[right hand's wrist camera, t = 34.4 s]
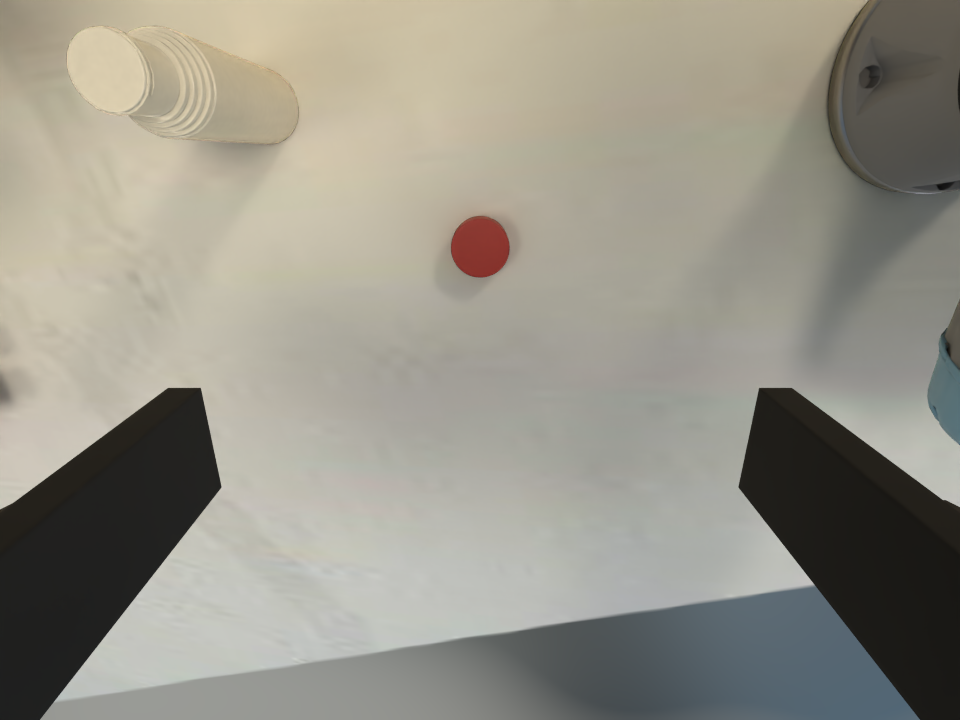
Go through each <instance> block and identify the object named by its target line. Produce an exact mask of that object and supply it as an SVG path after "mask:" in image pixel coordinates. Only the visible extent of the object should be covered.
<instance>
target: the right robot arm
mask: <svg viewBox="0 0 960 720" xmlns="http://www.w3.org/2000/svg"><path fill="white" fill-rule="evenodd" d="M828 109H829V121H830V127H831V131H832V135H833V138H834V141H835V144H836V146H837V148H838V150H839V152H840V154H841V156H842V157H843V159H844V160H845V162H846V163H847V164H848V166H849V167H850V168H851V169H852V170H853V171H854V172H855V173H856V174H857V175H859V176H860V177H861V178H863V179H864V180H866V181H867V182H869V183H871V184H873V185H875V186H877V187H880V188H883V189H886V190H890V191H895V192H905V193H916V194H933V193H942V192H948V191H954V190H959V189H960V0H869V2H868V3H867V4H866V5H865V7H864V8H863V9H862V11H861V12H860V14H859V15H858V17H857V18H856V19H855V21H854V23H853V24H852V26H851V28H850V30H849V31H848V33H847V35H846V37H845V39H844V41H843V43H842V46H841V48H840V51H839V53H838V56H837V58H836V62H835V65H834V68H833V72H832V77H831V82H830V89H829V103H828ZM939 352H940V353H939V357H938V360H937V363H936V366H935V369H934V371H933V374H932V377H931V380H930V383H929V387H928V394H927V398H928V404H929V407H930V409H931V411H932V413H933V415H934V417H935V418H936V419H937V420H938V421H939V424H940V426H941V427H942V428H943V430H944V431H945V432H946V433H947V434H948V435H949V436H950V437H951V438H952V439H953V440H954V441H956V442H957V443H958V444H959V445H960V300H959V303H958V305H957V307H956V310H955V312H954V314H953V317H952V319H951V322H950V324H949V326H948V328H946V330H945V331H944V332H943V333H942V335H941V337H940V339H939ZM220 489H221V482H220V478H219V473H218V468H217V463H216V459H215V454H214V449H213V444H212V440H211V435H210V430H209V425H208V420H207V416H206V411H205V406H204V401H203V397H202V392H201V388H168V389H166V390H165V391H164V392H162V393H161V394H159V395H158V396H157V397H155V398H154V399H153V400H151V401H150V402H149V403H147V404H146V405H145V406H143V407H142V408H141V409H139V410H138V411H137V412H135V413H134V414H133V415H131V416H130V417H128V418H127V419H126V420H124V421H123V422H122V423H120V424H119V425H118V426H116V427H115V428H114V429H112V430H111V431H110V432H108V433H107V434H106V435H104V436H103V437H102V438H100V439H99V440H98V441H96V442H95V443H93V444H92V445H91V446H89V447H88V448H87V449H85V450H84V451H83V452H81V453H80V454H79V455H77V456H76V457H75V458H73V459H72V460H71V461H69V462H68V463H67V464H65V465H64V466H62V467H61V468H60V469H58V470H57V471H56V472H54V473H53V474H52V475H50V476H49V477H48V478H46V479H45V480H44V481H42V482H41V483H40V484H38V485H37V486H36V487H34V488H33V489H32V490H30V491H29V492H27V493H26V494H25V495H23V496H22V497H21V498H19V499H18V500H17V501H15V502H14V503H12V504H10V505H8V506H6V507H4V508H2V509H0V720H40V719H41V718H42V716H43V715H44V714H45V712H46V711H47V710H48V709H49V707H50V706H51V705H52V704H53V702H54V701H55V700H56V698H57V697H58V696H59V695H60V693H61V692H62V691H63V689H64V688H65V687H66V686H67V684H68V683H69V682H70V680H71V679H72V678H73V677H74V675H75V674H76V673H77V672H78V670H79V669H80V668H81V666H82V665H83V664H84V663H85V661H86V660H87V659H88V657H89V656H90V655H91V654H92V652H93V651H94V650H95V648H96V647H97V646H98V645H99V643H100V642H101V641H102V640H103V638H104V637H105V636H106V634H107V633H108V632H109V631H110V629H111V628H112V627H113V625H114V624H115V623H116V622H117V620H118V619H119V618H120V617H121V615H122V614H123V613H124V611H125V610H126V609H127V608H128V606H129V605H130V604H131V602H132V601H133V600H134V599H135V597H136V596H137V595H138V593H139V592H140V591H141V590H142V588H143V587H144V586H145V585H146V583H147V582H148V581H149V579H150V578H151V577H152V576H153V574H154V573H155V572H156V570H157V569H158V568H159V567H160V565H161V564H162V563H163V561H164V560H165V559H166V558H167V556H168V555H169V554H170V553H171V551H172V550H173V549H174V547H175V546H176V545H177V544H178V542H179V541H180V540H181V538H182V537H183V536H184V535H185V533H186V532H187V531H188V529H189V528H190V527H191V526H192V524H193V523H194V522H195V521H196V519H197V518H198V517H199V515H200V514H201V513H202V512H203V510H204V509H205V508H206V506H207V505H208V504H209V503H210V501H211V500H212V499H213V498H214V496H215V495H216V494H217V492H218V491H219V490H220ZM739 489H740V490H741V491H742V492H743V494H744V495H745V496H746V498H747V499H748V500H749V501H750V503H751V504H752V505H753V506H754V508H755V509H756V510H757V512H758V513H759V514H760V515H761V517H762V518H763V519H764V521H765V522H766V523H767V524H768V526H769V527H770V528H771V530H772V531H773V532H774V533H775V535H776V536H777V537H778V538H779V540H780V541H781V542H782V544H783V545H784V546H785V547H786V549H787V550H788V551H789V553H790V554H791V555H792V556H793V558H794V559H795V560H796V561H797V563H798V564H799V565H800V567H801V568H802V569H803V570H804V572H805V573H806V574H807V576H808V577H809V578H810V579H811V581H812V582H813V583H814V585H815V586H816V587H817V588H818V590H819V591H820V592H821V593H822V595H823V596H824V597H825V599H826V600H827V601H828V602H829V604H830V605H831V606H832V608H833V609H834V610H835V611H836V613H837V614H838V615H839V616H840V618H841V619H842V620H843V622H844V623H845V624H846V625H847V627H848V628H849V629H850V631H851V632H852V633H853V634H854V636H855V637H856V638H857V640H858V641H859V642H860V643H861V645H862V646H863V647H864V648H865V650H866V651H867V652H868V654H869V655H870V656H871V657H872V659H873V660H874V661H875V663H876V664H877V665H878V666H879V668H880V669H881V670H882V671H883V673H884V674H885V675H886V677H887V678H888V679H889V680H890V682H891V683H892V684H893V686H894V687H895V688H896V689H897V691H898V692H899V693H900V695H901V696H902V697H903V698H904V700H905V701H906V702H907V703H908V705H909V706H910V707H911V709H912V710H913V711H914V712H915V714H916V715H917V716H918V718H919V719H920V720H960V507H958V506H956V505H954V504H952V503H950V502H948V501H946V500H942V499H941V498H939V497H938V496H937V495H935V494H934V493H933V492H931V491H930V490H928V489H927V488H926V487H924V486H923V485H922V484H920V483H919V482H918V481H916V480H915V479H914V478H912V477H911V476H910V475H908V474H907V473H906V472H904V471H903V470H902V469H900V468H899V467H898V466H896V465H895V464H893V463H892V462H891V461H889V460H888V459H887V458H885V457H884V456H883V455H881V454H880V453H879V452H877V451H876V450H875V449H873V448H872V447H871V446H869V445H868V444H867V443H865V442H864V441H862V440H861V439H860V438H858V437H857V436H856V435H854V434H853V433H852V432H850V431H849V430H848V429H846V428H845V427H844V426H842V425H841V424H840V423H838V422H837V421H836V420H834V419H833V418H832V417H830V416H829V415H827V414H826V413H825V412H823V411H822V410H821V409H819V408H818V407H817V406H815V405H814V404H813V403H811V402H810V401H809V400H807V399H806V398H805V397H803V396H802V395H801V394H799V393H798V392H796V391H795V390H794V389H792V388H759V392H758V397H757V401H756V406H755V411H754V416H753V420H752V425H751V430H750V435H749V439H748V444H747V449H746V454H745V459H744V463H743V468H742V473H741V478H740V482H739Z"/></svg>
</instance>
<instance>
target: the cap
mask: <svg viewBox="0 0 960 720" xmlns="http://www.w3.org/2000/svg"><path fill="white" fill-rule="evenodd" d="M451 252H452V256H453V259H454V262H455V263H456V265H457V266H458V267H459V268H460V269H461V270H462V271H463V272H464V273H466V274H468V275H470V276H473V277H487V276H490V275H493V274H495V273H496V272H498V271H499V270H500V269H501V268H502V267H503V266H504V264H505V263H506V261H507V258H508V255H509V241H508V237H507V235H506V232H505V230H504V229H503V227H502V226H501V225H500V224H499V223H498V222H497V221H495V220H493V219H491V218H489V217H484V216H477V217H472V218H469V219H467V220H466V221H464V222H463V223H462V224H461V225H460V226H459V227H458V228H457V230H456V232H455V234H454V236H453V239H452V244H451Z"/></svg>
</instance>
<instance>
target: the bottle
mask: <svg viewBox="0 0 960 720" xmlns="http://www.w3.org/2000/svg"><path fill="white" fill-rule="evenodd" d="M66 60H67V69H68V73H69V76H70V78H71V81H72V83H73V85H74V86H75V88H76V89H77V91H78V92H79V93H80V95H81V96H82V97H83V98H84V99H85V100H86V101H88V103H90V104H91V105H92V106H94V107H95V108H97V109H98V110H100V111H102V112H104V113H107V114H110V115H116V116H123V115H128V116H129V117H130V118H131V119H132V120H133V121H134V122H136V123H137V124H138V125H139V126H141V127H142V128H144V129H145V130H147V131H149V132H151V133H154V134H155V135H158V136H161V137H164V138H169V139H182V140H200V141H217V142H235V143H252V144H276V143H279V142H281V141H283V140H285V139H286V138H288V137H289V136H290V135H291V133H292V132H293V131H294V129H295V127H296V124H297V121H298V114H299V110H298V102H297V98H296V96H295V93H294V91H293V89H292V88H291V86H290V85H289V83H288V82H287V81H286V80H285V79H284V78H283V77H282V76H280V75H279V74H278V73H276V72H274V71H272V70H269V69H267V68H265V67H262V66H260V65H257V64H255V63H252V62H250V61H248V60H245V59H243V58H240V57H238V56H236V55H233V54H231V53H228V52H226V51H223V50H221V49H219V48H216V47H214V46H211V45H209V44H207V43H204V42H202V41H199V40H197V39H194V38H192V37H190V36H187V35H185V34H182V33H180V32H177V31H175V30H172V29H170V28H166V27H161V26H144V27H140V28H136V29H134V30H132V31H130V32H128V33H125V32H122V31H120V30H118V29H116V28H113V27H107V26H96V27H89V28H86V29H83V30H81V31H80V32H78V33H77V34H76V35H75V36H74V37H73V39H72V40H71V42H70V44H69V46H68V50H67V58H66Z"/></svg>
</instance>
